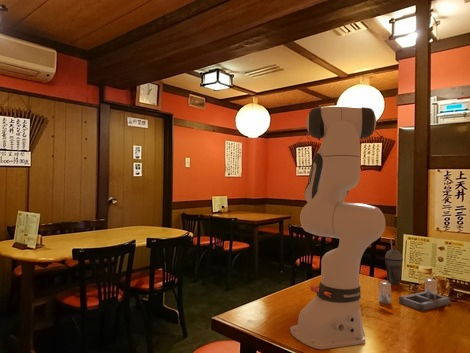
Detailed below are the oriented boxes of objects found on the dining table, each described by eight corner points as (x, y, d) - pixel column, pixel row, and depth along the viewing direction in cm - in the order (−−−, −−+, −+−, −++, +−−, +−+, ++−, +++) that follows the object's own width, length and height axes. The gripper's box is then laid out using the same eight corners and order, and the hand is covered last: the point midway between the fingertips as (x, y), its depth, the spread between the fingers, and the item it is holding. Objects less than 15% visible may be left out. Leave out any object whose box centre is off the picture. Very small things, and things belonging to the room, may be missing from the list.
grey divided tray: (421, 313, 118) (421, 305, 118) (398, 305, 126) (398, 297, 126) (449, 306, 125) (449, 298, 125) (426, 298, 133) (426, 290, 133)
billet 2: (432, 304, 124) (432, 282, 124) (422, 300, 128) (422, 279, 128) (439, 302, 126) (439, 280, 126) (429, 299, 130) (429, 277, 130)
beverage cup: (404, 288, 146) (405, 241, 146) (386, 286, 147) (386, 240, 148) (400, 283, 153) (400, 238, 153) (382, 282, 154) (383, 237, 155)
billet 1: (385, 307, 123) (385, 285, 123) (376, 304, 127) (376, 282, 127) (393, 305, 125) (393, 284, 125) (383, 302, 129) (384, 281, 129)
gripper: (326, 211, 139) (343, 239, 131) (362, 209, 149) (381, 234, 140) (318, 220, 143) (335, 248, 135) (354, 218, 153) (372, 243, 144)
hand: (359, 241), depth 137 cm, fingers open, 8 cm apart
